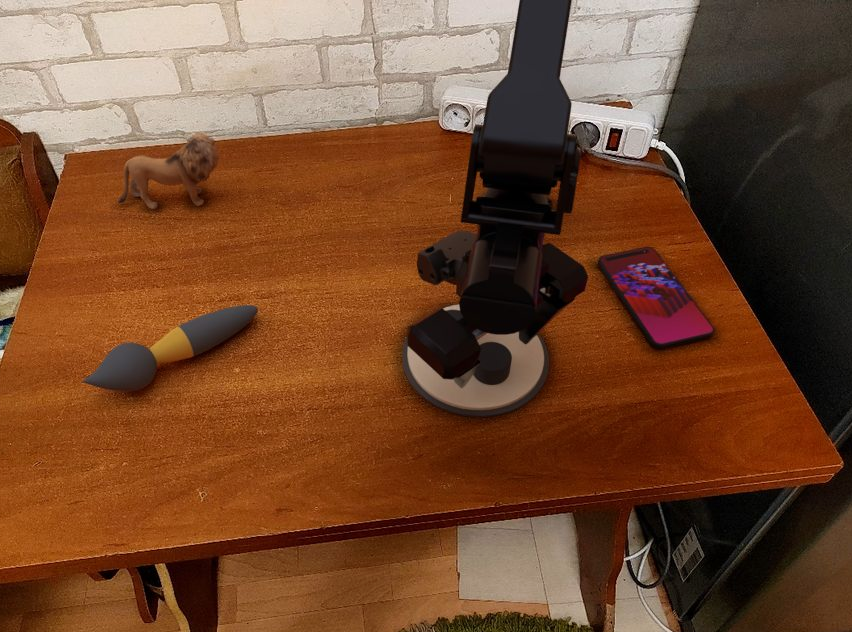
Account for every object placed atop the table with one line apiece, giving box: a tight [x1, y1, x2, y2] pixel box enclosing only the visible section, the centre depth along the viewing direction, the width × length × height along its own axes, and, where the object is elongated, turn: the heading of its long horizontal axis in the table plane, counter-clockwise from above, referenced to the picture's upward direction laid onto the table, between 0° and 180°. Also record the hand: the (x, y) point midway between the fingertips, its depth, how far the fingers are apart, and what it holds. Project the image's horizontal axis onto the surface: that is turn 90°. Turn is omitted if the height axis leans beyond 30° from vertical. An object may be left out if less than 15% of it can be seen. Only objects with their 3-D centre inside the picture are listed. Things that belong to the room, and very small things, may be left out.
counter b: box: [473, 342, 512, 385], centre depth 72 cm, size 4×4×2 cm
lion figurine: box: [117, 132, 220, 210], centre depth 90 cm, size 15×5×9 cm, turn 103°
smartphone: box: [597, 246, 716, 350], centre depth 80 cm, size 8×1×15 cm
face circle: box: [401, 303, 550, 418], centre depth 75 cm, size 16×16×1 cm
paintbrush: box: [81, 304, 259, 392], centre depth 74 cm, size 20×5×5 cm, turn 134°
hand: (492, 362), depth 71 cm, fingers open, 9 cm apart
